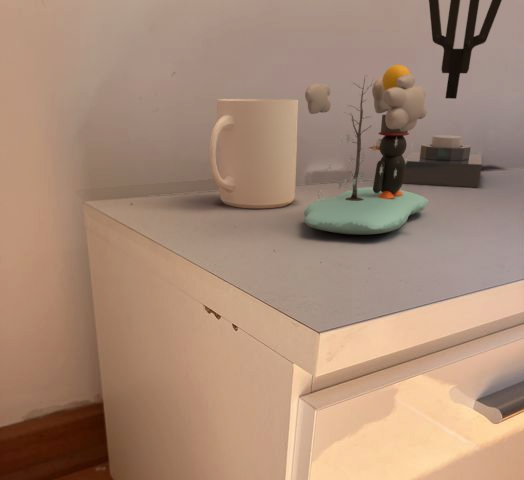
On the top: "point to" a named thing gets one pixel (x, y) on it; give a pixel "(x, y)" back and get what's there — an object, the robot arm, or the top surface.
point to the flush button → (446, 141)
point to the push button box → (443, 166)
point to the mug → (255, 152)
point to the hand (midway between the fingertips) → (450, 98)
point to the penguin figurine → (388, 168)
